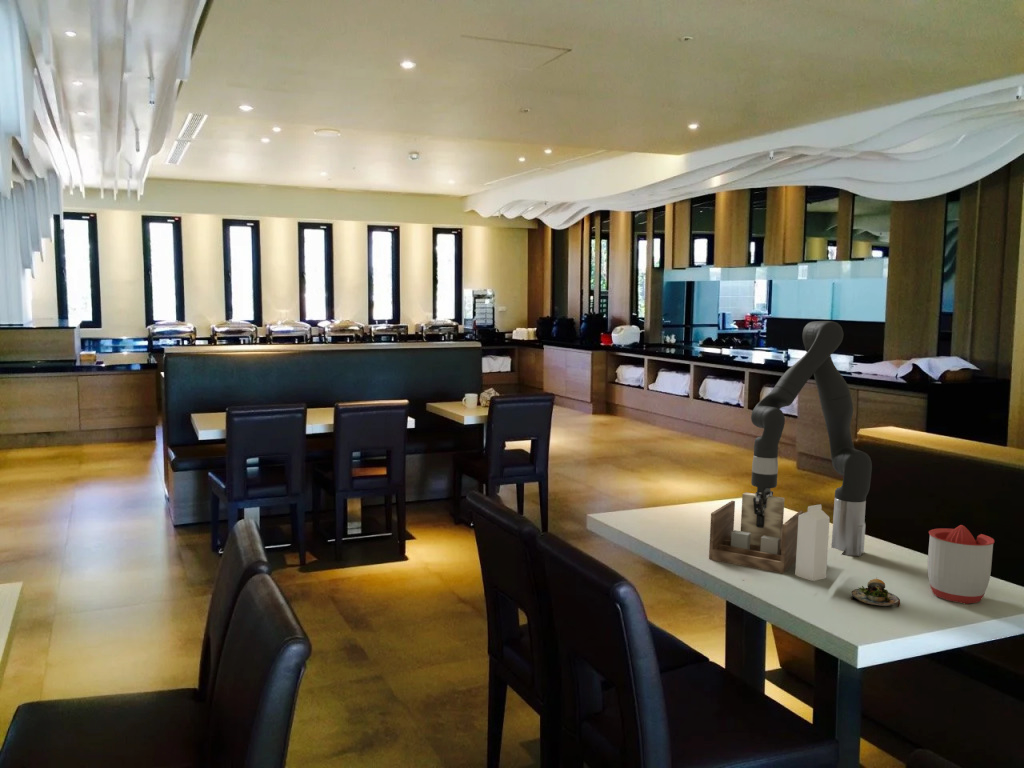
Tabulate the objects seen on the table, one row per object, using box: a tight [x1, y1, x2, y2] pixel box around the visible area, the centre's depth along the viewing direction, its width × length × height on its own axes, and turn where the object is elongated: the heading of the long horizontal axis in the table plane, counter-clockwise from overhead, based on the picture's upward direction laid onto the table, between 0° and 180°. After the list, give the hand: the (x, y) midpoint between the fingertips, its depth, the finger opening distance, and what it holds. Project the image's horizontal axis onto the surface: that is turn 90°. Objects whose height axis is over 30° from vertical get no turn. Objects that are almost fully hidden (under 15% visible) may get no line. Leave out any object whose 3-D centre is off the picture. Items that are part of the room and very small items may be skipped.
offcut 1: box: [731, 529, 751, 550], centre depth 249 cm, size 5×3×7 cm, turn 57°
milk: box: [794, 504, 831, 582], centre depth 230 cm, size 6×6×22 cm
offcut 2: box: [760, 535, 781, 555], centre depth 244 cm, size 5×3×7 cm, turn 57°
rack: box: [708, 500, 804, 574], centre depth 247 cm, size 22×20×16 cm
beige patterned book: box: [740, 491, 786, 549], centre depth 251 cm, size 12×3×18 cm, turn 57°
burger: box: [850, 578, 901, 608], centre depth 216 cm, size 12×12×8 cm
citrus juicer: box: [927, 524, 995, 605], centre depth 221 cm, size 16×17×20 cm
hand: (761, 525), depth 251 cm, fingers closed on beige patterned book, 3 cm apart
